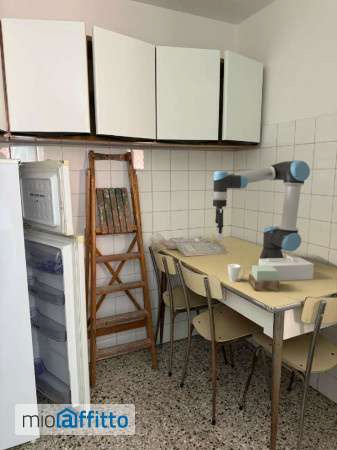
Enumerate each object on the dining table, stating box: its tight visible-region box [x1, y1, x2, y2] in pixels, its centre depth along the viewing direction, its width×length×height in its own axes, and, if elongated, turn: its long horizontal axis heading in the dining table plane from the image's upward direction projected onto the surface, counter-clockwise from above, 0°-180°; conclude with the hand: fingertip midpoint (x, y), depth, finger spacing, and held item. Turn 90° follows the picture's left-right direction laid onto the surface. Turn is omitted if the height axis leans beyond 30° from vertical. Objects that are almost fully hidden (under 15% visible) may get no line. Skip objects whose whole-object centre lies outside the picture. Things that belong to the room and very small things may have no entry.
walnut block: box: [248, 273, 281, 292], centre depth 156 cm, size 12×12×5 cm
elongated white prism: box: [258, 255, 315, 282], centre depth 173 cm, size 14×25×11 cm, turn 98°
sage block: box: [251, 264, 278, 281], centre depth 156 cm, size 10×10×5 cm
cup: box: [227, 263, 246, 282], centre depth 166 cm, size 7×10×8 cm
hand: (218, 236), depth 175 cm, fingers open, 13 cm apart
